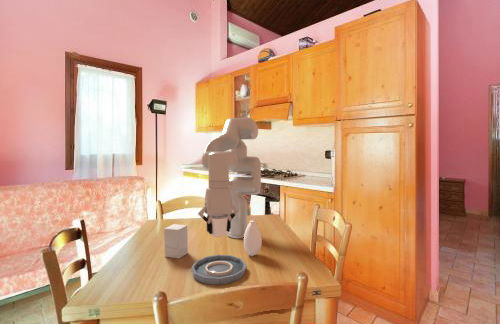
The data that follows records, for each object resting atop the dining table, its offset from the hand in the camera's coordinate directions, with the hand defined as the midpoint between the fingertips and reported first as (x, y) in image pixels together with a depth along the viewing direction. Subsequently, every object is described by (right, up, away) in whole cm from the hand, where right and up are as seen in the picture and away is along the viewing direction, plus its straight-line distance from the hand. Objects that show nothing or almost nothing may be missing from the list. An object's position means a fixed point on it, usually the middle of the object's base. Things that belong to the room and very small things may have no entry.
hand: (218, 231), depth 102 cm
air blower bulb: (+13, -15, +16) cm, 26 cm away
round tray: (0, -16, +1) cm, 16 cm away
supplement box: (-21, -15, +17) cm, 30 cm away
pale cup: (0, -1, 0) cm, 1 cm away
